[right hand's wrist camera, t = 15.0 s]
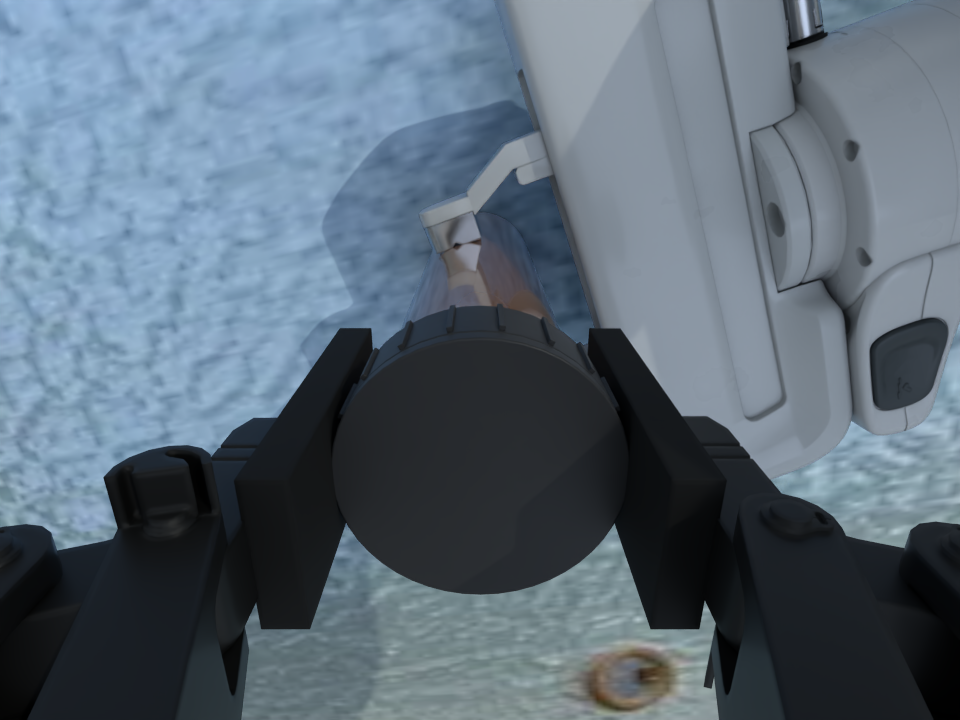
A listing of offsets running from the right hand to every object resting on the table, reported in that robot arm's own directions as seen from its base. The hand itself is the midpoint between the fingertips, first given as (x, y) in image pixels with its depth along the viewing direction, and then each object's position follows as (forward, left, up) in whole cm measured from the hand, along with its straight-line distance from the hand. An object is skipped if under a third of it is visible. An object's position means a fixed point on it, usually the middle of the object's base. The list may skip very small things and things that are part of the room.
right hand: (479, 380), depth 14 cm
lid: (0, 0, +4) cm, 4 cm away
